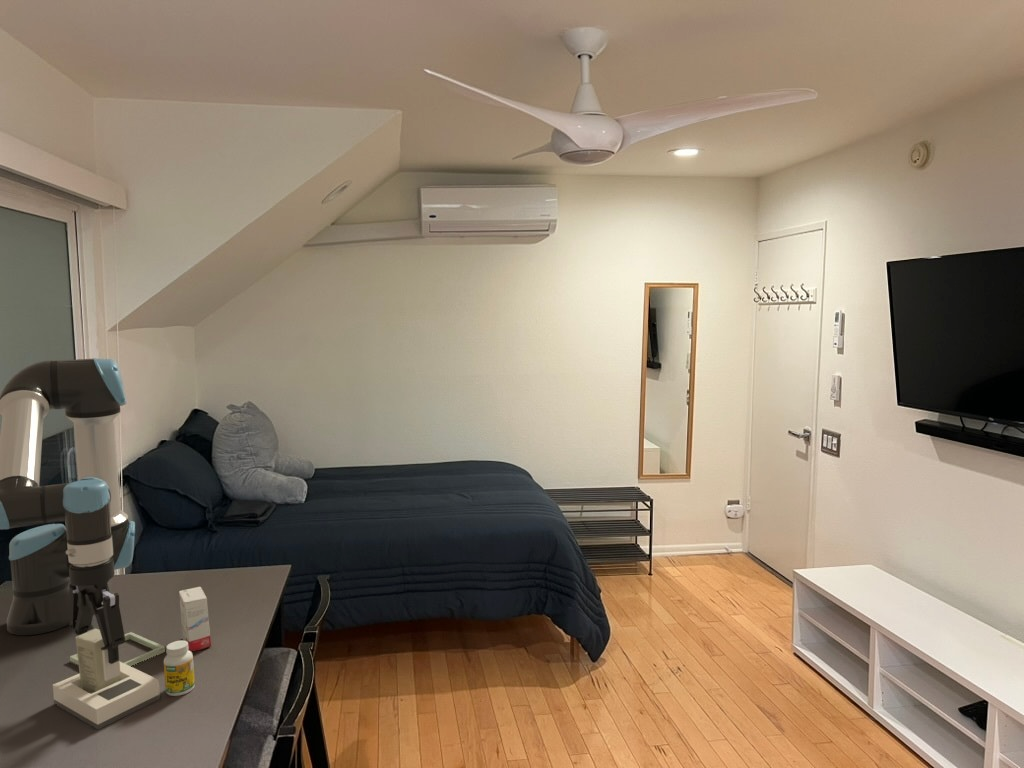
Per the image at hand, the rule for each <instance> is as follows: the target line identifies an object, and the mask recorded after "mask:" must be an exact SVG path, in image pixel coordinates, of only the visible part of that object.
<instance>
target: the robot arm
mask: <svg viewBox="0 0 1024 768" xmlns="http://www.w3.org/2000/svg"><path fill="white" fill-rule="evenodd" d="M124 387H125V386H124V383H123V379H122V374H121V370H120V366H119V364H118V362H117V361H116V360H114V359H111V358H96V357H95V358H83V359H82V358H80V359H64V360H62V359H61V360H43V361H37V362H35V363H32V364H30V365H28V366H26V367H25V368H22V369H21V370H19V371H18V372H17V373H16V374H14V375H13V376H12V377H11V378H10V379H9V380H8V382H7V383H6V384H5V386H4V387H3V388H2V390H1V392H0V416H1V424H0V426H1V427H0V530H9V529H15V528H21V527H22V528H23V527H29V526H36V527H33V528H30V529H27V530H25V531H23V532H20V533H19V534H16V535H15V536H14V537H12V539H11V540H10V542H9V546H8V548H9V555H8V560H9V561H10V573H11V574H10V575H11V586H12V601H11V604H10V608H9V611H8V614H7V618H6V631H7V632H8V633H10V634H11V635H14V634H15V636H34V635H40V634H46V633H50V632H53V631H56V630H59V629H63V628H64V627H66V626H69V628H70V630H74V634H75V635H76V636H79V635H82V634H84V633H86V632H88V631H91V630H93V629H95V627H94V625H92V622H93V621H92V620H93V616H95V620H96V622H97V626H98V629H100V633H101V636H102V639H103V642H104V647H102V648H101V650H102V656H103V669H104V680H106V681H107V680H109V679H112V678H114V677H116V676H118V675H120V662H121V661H120V651H119V646H120V645H123V644H125V643H126V641H125V632H124V625H123V621H122V615H121V614H122V613H121V609H120V594H119V593H118V592H115V593H111V592H110V591H111V590H110V588H109V584H108V582H109V581H110V580H111V579H112V578H113V577H114V576H115V574H116V572H115V571H116V570H121V569H125V568H128V567H129V566H131V564H132V562H133V558H134V550H135V531H136V528H135V527H136V522H135V521H132V520H129V515H128V514H127V513H126V512H124V511H123V510H122V509H121V496H120V483H119V470H118V455H117V442H116V428H115V419H116V418H117V417H118V416H119V414H121V407H123V406H125V405H127V398H126V394H125V388H124ZM50 410H64V411H65V417H66V418H67V419H68V420H70V421H71V422H72V423H73V431H74V432H73V434H74V443H75V451H76V452H75V456H76V465H77V478H78V480H76V481H72V482H68V483H67V482H65V483H58V484H50V485H41V486H40V478H41V464H42V463H41V460H42V448H43V446H42V444H43V434H44V433H43V432H44V430H43V429H44V419H45V417H47V416H48V413H49V411H50ZM60 522H64V523H65V525H64V524H63V523H60ZM37 525H40V526H37ZM119 661H120V662H119Z"/></svg>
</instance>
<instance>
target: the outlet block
mask: <svg viewBox="0 0 1024 768" xmlns="http://www.w3.org/2000/svg"><path fill="white" fill-rule="evenodd" d="M119 662H120V675H119V681H118V682H116V683H114V684H112V685H110V686H107V687H105V688H103V689H101V690H99V691H96V692H94V693H92V694H90V693H88V692H86V691H84V690H83V689H81V681H80V672H79V673H77V674H75V675H72V676H70V677H68V678H66V679H63V680H61V681H58V682H56V683H53V684H52V692H53V693H52V694H53V705H55V704H57V705H58V706H60V707H61V708H60V707H59V708H60V709H62V708H63V709H62V710H64V709H65V710H66V712H67V711H68V712H67V713H68V714H70V713H71V715H72V716H74V717H76V718H77V719H79V720H81V721H82V722H84V723H86V724H88V725H89V726H91V727H93V728H94V729H96V730H97V731H98V730H101V729H103V728H105V727H106V726H109V725H111V724H113V723H115V722H116V721H117V722H118V721H119V720H121V719H123V718H124V717H126V716H128V715H130V714H133V713H135V712H137V711H138V710H140V709H142V708H145V707H146V706H148V705H151V704H153V703H154V702H156V701H159V700H160V699H161V696H160V695H161V694H160V682H159V680H160V679H158V678H155V677H153V676H151V675H149V674H148V673H146V672H143V671H141V670H139V669H137V668H135V667H134V666H132V667H131V666H129V665H127V664H124V662H122V661H120V660H119ZM57 705H56V706H57ZM58 706H57V707H58ZM65 710H64V711H65Z"/></svg>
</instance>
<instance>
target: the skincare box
mask: <svg viewBox="0 0 1024 768" xmlns="http://www.w3.org/2000/svg"><path fill="white" fill-rule="evenodd" d="M75 645H76V646H75V647H76V654H77V655H78V664H79V666H78V671H79V673H80V681H81V689H83V690H84V691H86V692H88V693H90V694H92V693H94V692H96V691H99V690H101V689H103V688H105V687H107V686H110V685H112V684H114V683H116V682H118V681H119V675H118V676H116V677H114V678H112V679H109V680H107V681H106V680H104V669H103V656H102V650H101V648H102V647H104V642H103V639H102V636H101V633H100V629H99V628H96V627H94V628H93V629H91V630H88V632H86V633H84V634H82V635H79V636H78V635H76V636H75Z"/></svg>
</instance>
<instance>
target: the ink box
mask: <svg viewBox="0 0 1024 768" xmlns="http://www.w3.org/2000/svg"><path fill="white" fill-rule="evenodd" d="M178 594H179V606H180V607H179V608H180V619H181V621H180V622H181V633H182V641H187V642H188V647H189V649H188V650H189V651H190V652H191V653H193V652H196V650H197V651H201V650H203V649H206V648H209V647H212V641H211V631H210V623H209V622H210V620H209V611H208V609H209V608H208V597H207V596H206V594H205V592H204V590H203V588H202V587H201V586H196V587H192V588H191V587H190V588H188V589H182V590H179V591H178ZM192 651H193V652H192Z"/></svg>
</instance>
